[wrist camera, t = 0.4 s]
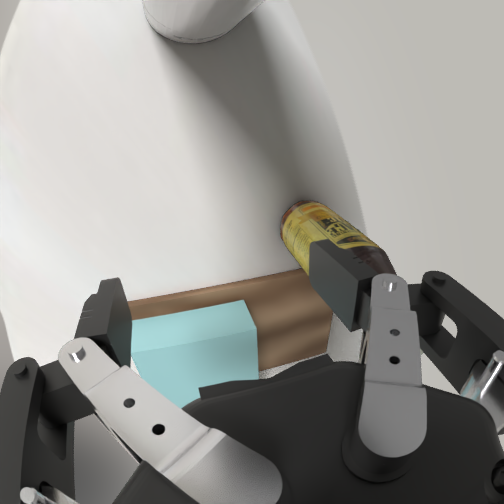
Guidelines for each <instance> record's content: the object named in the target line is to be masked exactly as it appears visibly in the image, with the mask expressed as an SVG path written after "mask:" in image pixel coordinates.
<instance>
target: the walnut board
mask: <svg viewBox="0 0 504 504" xmlns="http://www.w3.org/2000/svg"><path fill="white" fill-rule="evenodd" d="M240 300H244V302H245V304H246V306H247V308H248V311H249V313H250V315H251V317H252V320H253V322H254V324H255V326H256V328H257V348H258V371H262V370H266V369H270V368H274V367H277V366H281V365H285V364H288V363H292V362H295V361H299V360H302V359H305V358H309V357H312V356H315V355H318V354H321V353H325V352H326V349H327V343H328V338H329V332H330V326H331V320H332V314H333V311H332V309H331V308H330V307H329V306H328V305H327V304H326V302H325V301H324V300H323V299H322V298H321V297H320V295H319V294H318V293H317V292H316V291H315V290H314V289H313V287H312V285H311V283H310V280H309V276H308V275H307V273H306V272H305V271H304V269H303V268H302V269H297V270H292V271H287V272H282V273H278V274H273V275H268V276H263V277H258V278H253V279H248V280H243V281H238V282H232V283H227V284H222V285H217V286H212V287H206V288H201V289H196V290H190V291H185V292H180V293H174V294H169V295H163V296H157V297H152V298H146V299H140V300H135V301H129V302H128V305H129V308H130V312H131V316H132V320H138V319H144V318H150V317H156V316H162V315H167V314H173V313H178V312H184V311H189V310H194V309H200V308H205V307H210V306H215V305H220V304H225V303H230V302H235V301H240Z"/></svg>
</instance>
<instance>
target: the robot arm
mask: <svg viewBox="0 0 504 504" xmlns="http://www.w3.org/2000/svg"><path fill="white" fill-rule="evenodd" d="M263 1H265V0H143V7H144V12H145V15H146V18H147V20H148V22H149V23H150V25H151V26H152V27H153V28H154V29H155V30H156V31H157V32H158V33H159V34H161V35H162V36H164V37H166V38H168V39H171V40H173V41H176V42H182V43H202V42H208V41H211V40H214V39H217V38H219V37H221V36H223V35H224V34H226V33H228V32H229V31H230V30H231V29H232V28H234V27H235V26H236V25H237V24H238V23H239V22H240V21H241V20H243V19H244V18H245V17H246V16H247V15H248V14H249V13H251V12H252V11H253V10H254V9H255V8H256V7H258V6H259V5H260V4H261V3H262V2H263ZM309 280H310V283H311V285H312V287H313V289H314V290H315V291H316V292H317V293H318V294H319V295H320V297H321V298H322V299H323V300H324V301H325V302H326V304H327V305H328V306H329V307H330V308H331V309H332V311H333V312H334V313H335V314H336V315H337V316H338V318H339V319H340V320H341V321H342V322H343V324H344V325H345V326H346V327H347V328H348V329H349V331H350V332H352V331H355V330H358V329H361V328H362V329H363V334H362V340H361V348H360V355H359V361H358V363H356V362H346V361H339V362H333V361H332V359H331V358H330V356H329V355H328V354H325V355H322V356H319V357H316V358H313V359H309V360H306V361H303V362H300V363H297V364H295V365H294V366H292V367H290V368H288V369H286V370H284V371H282V372H281V373H279V374H277V375H275V376H273V377H271V378H268V379H255V380H233V381H228V382H223V383H219V384H214V385H209V386H204V387H199V388H198V389H199V393H200V398H198V399H196V400H194V401H192V402H190V403H188V404H187V405H185V406H184V407H182V408H181V409H180V408H179V407H178V406H176V405H175V404H174V403H172V402H171V401H170V400H168V399H167V398H166V397H164V396H163V395H162V394H161V393H159V392H158V391H157V390H156V389H154V388H153V387H152V386H151V385H149V384H148V383H147V382H146V381H145V380H143V379H142V378H141V377H140V376H139V375H137V374H136V373H135V372H134V371H133V370H132V369H131V368H130V363H131V339H132V316H131V312H130V308H129V305H128V302H127V299H126V296H125V293H124V290H123V287H122V284H121V281H120V279H119V278H113V279H107V280H102V281H101V282H100V286H99V289H98V292H97V294H92V295H91V296H90V297H89V298H88V299H87V301H86V302H85V303H84V306H83V310H82V313H81V316H80V320H79V323H78V326H77V330H76V333H75V337H74V339H73V340H71V341H69V342H68V343H66V344H65V345H64V346H63V347H62V348H61V349H60V351H59V354H58V360H57V361H54V362H52V363H49V364H46V365H44V366H41V367H40V366H39V365H38V363H37V362H36V360H35V359H33V358H30V357H25V358H21V359H19V360H17V361H15V362H14V363H13V364H12V365H11V366H10V367H9V369H8V370H7V373H6V376H5V379H4V382H3V385H2V389H1V393H0V504H79V503H77V502H76V501H75V486H74V422H75V420H78V419H80V418H83V417H86V416H88V415H91V414H94V415H95V416H96V417H97V419H98V420H99V421H100V422H101V424H102V425H103V426H104V427H105V428H106V429H107V430H108V431H109V433H110V434H111V435H112V436H113V437H114V438H115V439H116V440H117V441H118V443H120V445H121V446H122V447H123V448H124V449H125V450H126V451H127V452H128V453H129V454H130V456H132V458H133V459H134V460H135V461H136V462H137V463H138V464H139V466H138V468H137V469H136V471H135V472H134V473H133V475H132V476H131V478H130V479H129V481H128V482H127V483H126V485H125V487H124V488H123V489H122V490H121V492H120V493H119V495H118V496H117V498H116V499H115V501H114V502H113V503H112V504H504V451H503V449H502V446H501V444H500V441H499V437H498V435H501V434H504V319H503V318H502V317H500V316H499V315H498V314H497V313H496V312H494V311H493V310H492V309H491V308H490V307H489V306H487V305H486V304H485V303H483V302H482V301H481V300H480V299H479V298H477V297H476V296H475V295H474V294H472V293H471V292H470V291H469V290H467V289H466V288H465V287H464V286H462V285H461V284H459V283H458V282H457V281H456V280H454V279H453V278H452V277H450V276H449V275H447V274H445V273H443V272H439V271H429V272H426V273H425V274H424V275H423V279H422V283H421V284H408V285H407V283H406V281H405V280H404V279H403V278H401V277H399V276H397V275H394V274H387V273H385V274H379V273H377V272H376V271H375V270H374V269H372V268H371V267H370V266H369V265H367V264H366V263H365V262H364V263H363V261H362V260H361V259H360V258H358V257H357V256H356V255H354V254H353V253H352V252H351V251H348V250H346V249H343V248H341V247H340V248H339V247H338V246H337V245H335V244H334V243H333V242H332V241H330V240H329V239H324V240H319V241H313V242H311V243H310V247H309ZM445 314H446V315H447V316H448V317H449V318H451V319H452V320H453V321H454V322H455V324H456V326H457V331H458V332H457V336H456V338H454V337H453V336H452V335H451V334H450V333H449V332H448V331H447V330H446V329H445V328H444V327H443V326H442V322H443V319H444V316H445ZM420 349H421V350H422V351H423V352H424V353H425V354H426V356H427V357H428V358H429V359H430V360H431V361H432V362H433V363H434V365H435V366H436V367H437V368H438V369H439V370H440V371H441V373H442V374H443V375H444V376H445V377H446V379H447V380H448V381H449V382H450V383H451V384H452V386H453V387H454V388H455V389H456V390H457V392H458V393H459V394H460V395H456V394H452V393H449V392H446V391H443V390H439V389H436V388H433V387H430V386H427V385H424V384H422V374H421V356H420Z"/></svg>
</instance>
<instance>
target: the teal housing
mask: <svg viewBox="0 0 504 504" xmlns="http://www.w3.org/2000/svg"><path fill="white" fill-rule="evenodd" d="M131 357H132V359H133V361H134V363H135V365H136V367H137V369H138V372H139V374H140V376H141V378H142V379H143V380H145V381H146V382H147V383H148V384H149V385H151V386H152V387H153V388H154V389H156V390H157V391H158V392H159V393H161V394H162V395H163V396H164V397H166V398H167V399H168V400H170V401H171V402H172V403H174V404H175V405H176V406H178V407H179V408H180V409H181V408H182V407H184V406H185V405H187V404H188V403H190V402H192V401H194V400H196V399H198V398H200V393H199V389H198V388H199V387H204V386H209V385H214V384H219V383H223V382H228V381H233V380H255V379H259V371H258V348H257V328H256V326H255V324H254V322H253V320H252V317H251V315H250V313H249V311H248V308H247V306H246V304H245V302H244V300H240V301H235V302H230V303H225V304H220V305H215V306H210V307H205V308H200V309H194V310H189V311H184V312H178V313H173V314H167V315H162V316H156V317H150V318H144V319H138V320H132V339H131Z"/></svg>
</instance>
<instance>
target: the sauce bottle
mask: <svg viewBox="0 0 504 504" xmlns="http://www.w3.org/2000/svg"><path fill="white" fill-rule="evenodd" d="M280 230H281V233H280V234H281V238H282V240H283V241H284V243H285V245H286V247H287V248H288V250H289V251H290V252H291V254H292V255H293V256H294V257H295V259H296V260H297V261H298V263H299V264H300V265H301V267H302V268H303V269H304V271H305V272H306V273H307V275H308V276H309V247H310V243H311V242H313V241H319V240H324V239H329V240H330V241H332V242H333V243H334V244H335V245H337V246H338V247H339V248H340V247H341V248H343V249H346V250H348V251H351V252H352V253H353V254H354V255H356V256H357V257H358V258H360V259H361V260H362V261H363V263H364V262H365V263H366V264H367V265H369V266H370V267H371V268H372V269H374V270H375V271H376V272H377V273H379V274H385V273H387V274H394V275H397V274H396V272H395V270H394V268H393V266H392V264H391V262H390V260H389V258H388V256H387V254H386V253H385V251H384V250H383V249H381V248H380V247H379V246H378V245H377V244H375V243H374V242H373V241H371V240H370V239H369V238H368V237H366V236H365V235H364V234H363V233H361V232H360V231H359V230H358V229H356V228H355V227H354V226H352V225H351V224H350V223H349V222H347V221H346V220H344V219H343V218H342V217H340V216H339V215H337V214H336V213H335V212H333V211H332V210H331V209H329V208H328V207H327V206H325V205H323V204H320V203H318V202H315V201H302V202H298V203H296V204H294V205H293V206H292V207H291V208H290V209H289V210H288V211H287V212H286V213H285V215H284V216H283V219H282V222H281V228H280ZM423 353H424V352H423V351H422V350H421V349H420V356H421V355H422V354H423Z"/></svg>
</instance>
